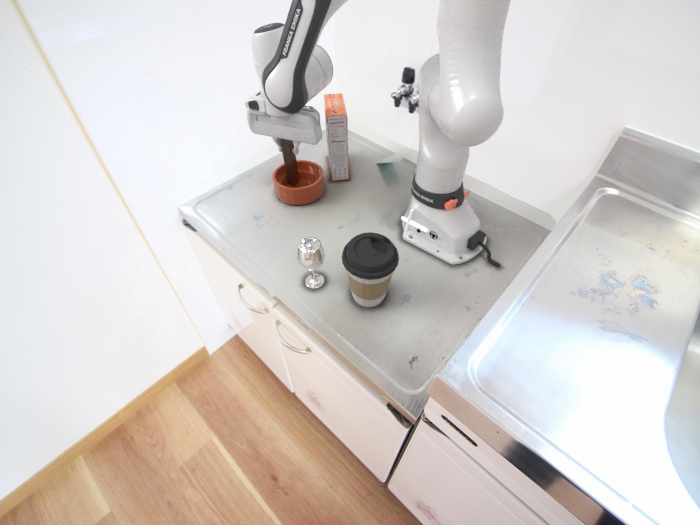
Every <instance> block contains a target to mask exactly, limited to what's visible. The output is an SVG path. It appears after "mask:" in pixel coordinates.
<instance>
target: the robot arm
mask: <svg viewBox="0 0 700 525" xmlns="http://www.w3.org/2000/svg"><path fill="white" fill-rule="evenodd" d="M348 1H349V0H291V4H290V7H289V10H288V12H287V15H286V20H285V22H284V23H282V22H271V23H268V24H265V25H262V26H260V27H258V28H256V29H254V31H253V33H252V36H251V48H252V49H251V50H252V56H253V62H254V67H255V68H254V69H255V72H256V75H257V77H258V79H259V90H258V91H256V92H254V93H253V94H252V95H250V96H249V97H248V98H247V99H246V100H245V101H244V105H245V108H246V109H247V110H246V119H247V125H248V128H249V130H250V132H251V133H252V134H254V135H260V136H265V137H271V138H272V141H273V143H274V144H275V145H276V146H277V149H278V152H281V153H282V148H281V142H280V138H281V139H286V140H291V141H293V144H294V146H293V147H292V148H291V153H292V154H295V155H296V156H298V155H299V153H300V149H299V148H300V145H301V143H303V144H309V145H314V146H316V145H318V144H319V142H321V140H322V138H323V129H322V125H321V115H320V114H321V113H320V112H319V111H318V110H317V109H316V108H315V107H314V106H313V105H307V104H308V102H310V101H312V100H313V99H314V98H315V97H316V96H317V95H318V94H320V93H321V92H322V91H324V89H326V88H327V86H328V85H330V84H331V82H332V79H333V76H334V65H333V63H332V59H331V57H330V55H329V53H328V52H327V51H326V49H325V48H323V46H321V45H319V44H318V42H319V40H320V38H321V36H322V33H323V31H324V28H325V27H326V25H327V24H328V23H329V21H330V20H331V18H332V17H333V16H334V15H335V14H336V12H338V10H339V9H340V8H342V6H344V5H345V4H346V3H347V2H348ZM511 1H512V0H439V6H438V13H437V22H436V35H437V41H438V51H439V52H438V53H436V54H434V55H432V56H430V57H429V58H428V59H427V60H426V61H424V63H423V64H422V66H421V67H420V69H419V72H418V75H417V90H418V153H417V154H418V155H417V161H416V168H415V173H414V175H413V177H412V182H411V188H410V189H411V191H410V192H411V195H410V199H409V203H408V205H407V209H406V211H405V213H404V214H403V216H401V225H402V230H403V232H402V236H401V237H402V239H403V240H404V241H406V242H407V243H409V244H411V245H413V246H415V247H417V248H419V249H421V250H423V251H425V252H426V253H428V254H430V255H432V256H434V257H435V258H437V259H439V260H442V261H443V262H445V263H448V264H450V265H460V264H464V263H467V262H469V261H470V260H472V259H473V258H475V257H477V256H478V255H479V254H480V253H481V252H482V251H483V250H484V251H485V253H486V259H487V261H488V262H489V263H490V264H492V265H493V266H496V267H497V268H499V267H500V266H501V263H499V262H497V261H495V260H493V259H492V252H491V250H490V249H489V247H487V245H486V244H487V233H485V232H484V231H482V230H481V221H480V218H479V217H478V216H477V214H476V213H475V209H474V208H473V207H472V206H471V205H470V204H469V203H468V201H467V200H466V199H465V198H467V197H468V196H469V195H470V192H471V190H469V189H468V190H467V191H465V186H464V177H465V172H466V169H467V165H468V162H469V158H470V148H471V147H476V146H480V145H481V144H484V143H485V142H487V141H488V140H489V139H491V138H492V137H493V136H494V135H495V133H496V132H497V131H498V130H499V128H500V127H501V124H502V122H503V118H504V105H503V101H502V95H501V67H502V48H503V41H504V40H503V39H504V32H505V26H506V22H507V18H508V14H509V10H510V5H511Z"/></svg>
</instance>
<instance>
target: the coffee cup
mask: <svg viewBox="0 0 700 525" xmlns="http://www.w3.org/2000/svg"><path fill="white" fill-rule="evenodd" d="M399 255H400V254H399V252H398V248H397V247H396V246H395V244H394V243H393V242H392V240H391V238H388V237H387V236H385V235H384V234H381V233H379V232H362V233H359V234H357V235H355V236H353V237H352V238H351V239H350V240H349V241H348V242H347V243H346V244H345V246H344V247H343V250H342V255H341V262H342V265H343V267H344V268H345V270H346V275H347V278H348V282H349V287H350V291H351V296H352V297H353V300H354V301H355V303H356V304H357V305H359V306H361V307H363V308H374V307H377V306H378V305H380V304H381V303H382V302H383V301H384V299H385V297H386V295H387V291H388V289H389V286H390V282H391V279H392V276H393V273H394V272H395V270H396V269H397V267H398V266H399V260H400V256H399Z"/></svg>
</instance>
